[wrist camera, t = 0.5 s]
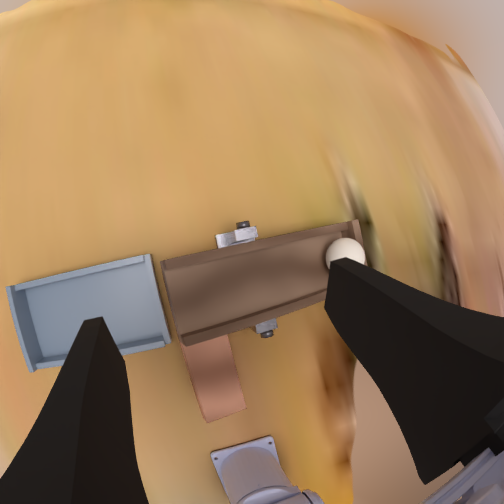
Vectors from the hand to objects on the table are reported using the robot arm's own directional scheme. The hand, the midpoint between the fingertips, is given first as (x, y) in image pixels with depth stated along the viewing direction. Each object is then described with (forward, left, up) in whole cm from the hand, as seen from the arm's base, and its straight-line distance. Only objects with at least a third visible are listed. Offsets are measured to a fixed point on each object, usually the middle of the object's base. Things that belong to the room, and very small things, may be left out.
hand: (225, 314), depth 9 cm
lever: (-5, -7, -19) cm, 21 cm away
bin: (-1, +11, -23) cm, 26 cm away
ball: (-1, -15, -17) cm, 23 cm away
